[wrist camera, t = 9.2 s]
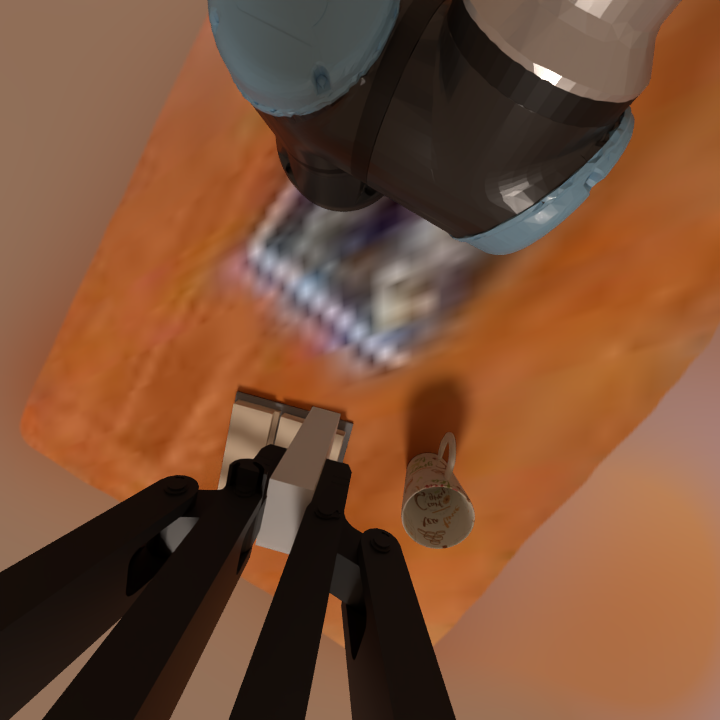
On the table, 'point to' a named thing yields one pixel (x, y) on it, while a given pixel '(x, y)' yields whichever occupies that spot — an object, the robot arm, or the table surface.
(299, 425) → the plank
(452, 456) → the mug
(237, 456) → the laid row
